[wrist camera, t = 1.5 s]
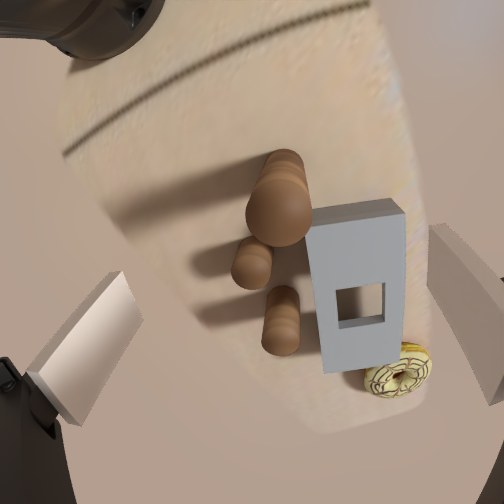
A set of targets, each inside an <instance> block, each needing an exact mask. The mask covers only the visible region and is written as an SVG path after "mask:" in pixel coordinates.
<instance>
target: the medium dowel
mask: <svg viewBox="0 0 504 504" xmlns="http://www.w3.org/2000/svg"><path fill="white" fill-rule="evenodd" d="M261 343H262V346H263V348H264V349H265V350H266V351H267V352H268V353H270V354H272V355H276V356H286V355H290V354H292V353H294V352H295V351H296V350H297V349H298V347H299V344H300V299H299V295H298V293H297V292H296V291H295V290H294V289H293V288H291V287H288V286H278V287H276V288H274V289H272V290H271V291H270V292H269V294H268V297H267V304H266V312H265V319H264V326H263V333H262V340H261Z"/></svg>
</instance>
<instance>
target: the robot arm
mask: <svg viewBox="0 0 504 504" xmlns="http://www.w3.org/2000/svg"><path fill="white" fill-rule="evenodd" d="M164 2H165V0H0V38H26V39H40V40H46V41H47V42H48V43H50V44H51V45H53V46H56V47H57V48H58V49H59V50H60V51H61V52H63V53H64V54H66V55H68V56H70V57H73V58H76V59H83V60H103V59H107V58H110V57H113V56H116V55H118V54H120V53H122V52H124V51H125V50H127V49H128V48H130V47H131V46H133V45H134V44H135V43H136V42H138V41H139V40H140V39H141V38H142V37H143V36H144V35H145V34H146V33H147V32H148V30H149V29H150V28H151V27H152V25H153V24H154V23H155V21H156V19H157V18H158V16H159V14H160V12H161V10H162V8H163V5H164ZM427 287H428V289H429V290H430V292H431V294H432V295H433V297H434V299H435V300H436V302H437V304H438V305H439V307H440V309H441V310H442V312H443V314H444V316H445V318H446V319H447V321H448V323H449V325H450V327H451V328H452V330H453V332H454V334H455V336H456V338H457V340H458V342H459V344H460V345H461V347H462V349H463V351H464V353H465V355H466V357H467V359H468V361H469V363H470V365H471V368H472V370H473V372H474V374H475V376H476V378H477V380H478V382H479V384H480V387H481V389H482V391H483V393H484V396H485V398H486V400H487V403H488V405H489V406H490V405H493V404H496V403H498V402H501V401H503V400H504V277H503V278H499V277H498V276H497V275H496V274H495V272H494V271H493V270H492V269H491V268H490V267H489V266H488V265H487V264H486V263H485V262H484V261H483V260H482V259H481V258H480V257H479V256H478V255H477V254H476V253H475V252H474V250H472V248H471V247H469V245H468V244H466V242H464V241H463V240H462V239H461V238H460V237H459V236H458V235H457V234H456V233H455V232H454V231H453V230H452V229H451V228H450V227H449V226H448V225H447V224H445V223H444V224H437V225H430V226H429V249H428V272H427ZM142 322H143V317H142V315H141V313H140V311H139V308H138V306H137V304H136V302H135V300H134V298H133V295H132V293H131V291H130V288H129V286H128V284H127V282H126V279H125V277H124V274H123V272H122V271H119V272H111V273H109V274H108V275H107V276H106V277H105V278H104V279H103V280H102V281H101V282H100V283H99V284H98V286H97V287H96V288H95V289H94V290H93V291H92V292H91V293H90V294H89V295H88V297H87V298H86V299H85V300H84V301H83V302H82V303H81V305H80V306H79V307H78V308H77V309H76V310H75V311H74V312H73V313H72V315H71V316H70V317H69V318H68V320H66V322H65V323H64V324H63V325H62V326H61V328H60V329H59V330H58V331H57V332H56V333H55V335H54V336H53V337H52V338H51V339H50V341H49V342H48V343H47V344H46V346H45V347H44V348H43V349H42V350H41V352H40V353H39V354H38V355H37V357H36V358H35V359H34V361H33V362H32V363H31V364H30V366H29V367H28V368H27V369H26V372H25V374H24V375H23V376H21V375H20V373H19V372H18V370H17V369H16V368H15V366H14V365H13V363H12V362H11V360H10V359H9V358H8V357H1V358H0V504H77V503H76V499H75V495H74V491H73V487H72V483H71V479H70V474H69V470H68V465H67V460H66V455H65V450H64V444H63V438H62V432H61V425H60V423H59V421H58V420H57V419H56V417H57V415H58V414H60V415H61V416H62V417H63V418H64V419H65V421H66V422H67V423H69V424H73V425H77V426H82V425H83V423H84V421H85V419H86V418H87V416H88V414H89V412H90V410H91V409H92V407H93V405H94V403H95V401H96V400H97V398H98V396H99V394H100V392H101V391H102V389H103V387H104V386H105V384H106V382H107V380H108V379H109V377H110V375H111V373H112V371H113V370H114V368H115V367H116V365H117V363H118V361H119V360H120V358H121V356H122V355H123V353H124V351H125V350H126V348H127V346H128V345H129V343H130V341H131V340H132V338H133V336H134V335H135V333H136V331H137V329H138V328H139V327H140V325H141V323H142ZM476 504H504V442H503V444H502V447H501V449H500V452H499V454H498V457H497V459H496V462H495V464H494V467H493V469H492V471H491V473H490V475H489V478H488V480H487V482H486V484H485V486H484V488H483V490H482V492H481V494H480V496H479V498H478V500H477V502H476Z"/></svg>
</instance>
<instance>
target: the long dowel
mask: <svg viewBox="0 0 504 504" xmlns="http://www.w3.org/2000/svg"><path fill="white" fill-rule="evenodd" d="M245 216H246V222H247V226H248V228H249V230H250V231H251V233H252V234H253V235H254V236H255V237H256V238H257V239H258V240H259V241H261V242H263V243H265V244H267V245H270V246H275V247H284V246H289V245H292V244H295V243H297V242H298V241H300V240H301V239H302V238H303V237H304V236H305V235H306V234H307V232H308V231H309V229H310V227H311V224H312V218H313V213H312V207H311V201H310V196H309V190H308V185H307V180H306V175H305V170H304V164H303V161H302V159H301V157H300V156H299V155H298V154H297V153H296V152H294V151H292V150H289V149H279V150H276V151H274V152H273V153H271V154H270V156H269V157H268V158H267V161H266V163H265V165H264V167H263V170H262V172H261V174H260V176H259V179H258V181H257V183H256V185H255V188H254V190H253V192H252V194H251V197H250V199H249V201H248V204H247V207H246V213H245Z"/></svg>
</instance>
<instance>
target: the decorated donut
mask: <svg viewBox="0 0 504 504" xmlns="http://www.w3.org/2000/svg"><path fill="white" fill-rule="evenodd" d="M431 366H432V362H431V359H430V356H429V354H428V353H427V351H426V350H425V349H424V348H423V347H421V346H419V345H417V344H412V343H401V352H400V361H399V362H398V363H393V364H387V365H382V366H376V367H370V368H366V371H365V377H364V386H365V388H366V389H367V390H368V391H369V392H370V393H371V394H373V395H375V396H377V397H381V398H399V397H402V396H404V395H406V394H408V393H410V392H411V391H413V390H414V389H416V388H417V387H419V386H420V385H421V384H422V383H423V382H424V381H425V379H426V378H427V377H428V376H429V373H430V371H431Z"/></svg>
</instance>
